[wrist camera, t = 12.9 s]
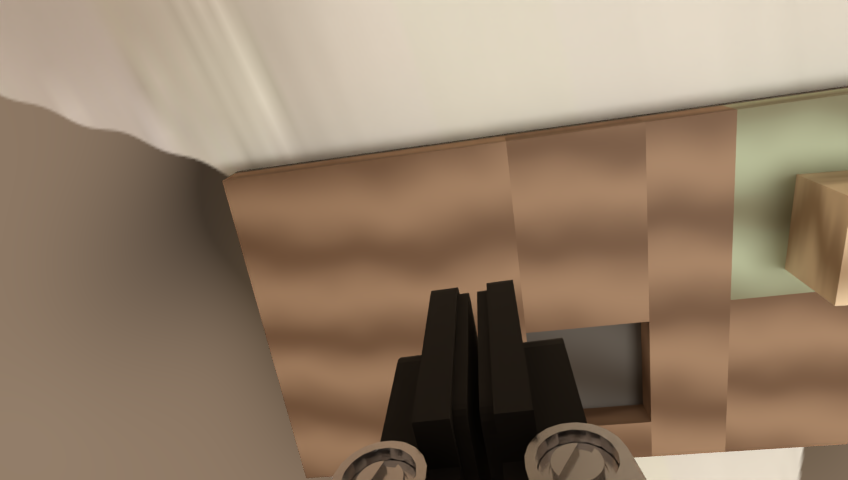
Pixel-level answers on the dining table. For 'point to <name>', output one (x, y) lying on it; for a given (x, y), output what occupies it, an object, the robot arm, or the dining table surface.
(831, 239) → the maple block
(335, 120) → the dining table surface
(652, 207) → the trap deck
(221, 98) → the dining table surface
